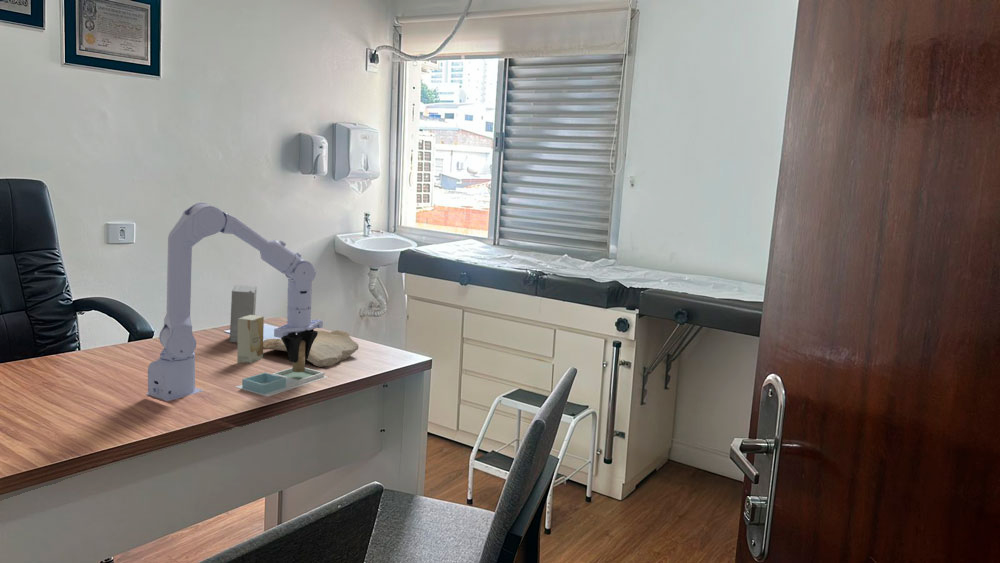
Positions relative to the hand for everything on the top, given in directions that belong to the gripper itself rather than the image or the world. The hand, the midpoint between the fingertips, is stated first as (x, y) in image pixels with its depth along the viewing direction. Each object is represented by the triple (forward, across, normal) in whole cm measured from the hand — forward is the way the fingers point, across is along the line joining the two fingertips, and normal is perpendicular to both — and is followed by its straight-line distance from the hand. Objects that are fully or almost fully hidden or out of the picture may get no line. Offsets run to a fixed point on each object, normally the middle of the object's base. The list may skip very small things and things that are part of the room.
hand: (298, 360), depth 178 cm
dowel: (+3, 0, 0) cm, 3 cm away
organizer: (+5, -5, 0) cm, 7 cm away
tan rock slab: (+6, +18, +14) cm, 23 cm away
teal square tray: (+5, -11, 0) cm, 12 cm away
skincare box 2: (+5, +3, +20) cm, 21 cm away
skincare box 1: (+5, +17, +40) cm, 43 cm away
